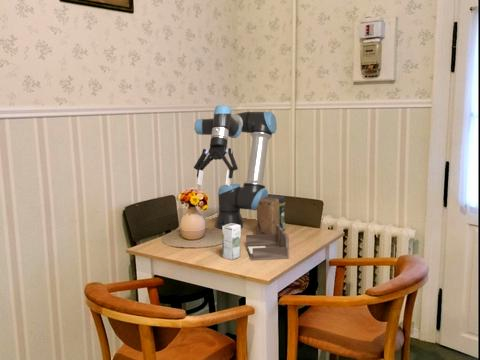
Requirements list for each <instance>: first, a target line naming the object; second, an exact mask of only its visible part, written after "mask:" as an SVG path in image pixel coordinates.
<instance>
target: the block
mask: <svg viewBox="0 0 480 360" xmlns="http://www.w3.org/2000/svg"><path fill="white" fill-rule="evenodd" d="M256 220H257V224H256V227H257V228H256V233H257V234H276V225H278V224H279V226H280V209H279V200H278V199H277V198H272V197H264V198H262V199H260V200H259V202H258V206H257V210H256ZM257 234H256V235H257Z"/></svg>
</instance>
